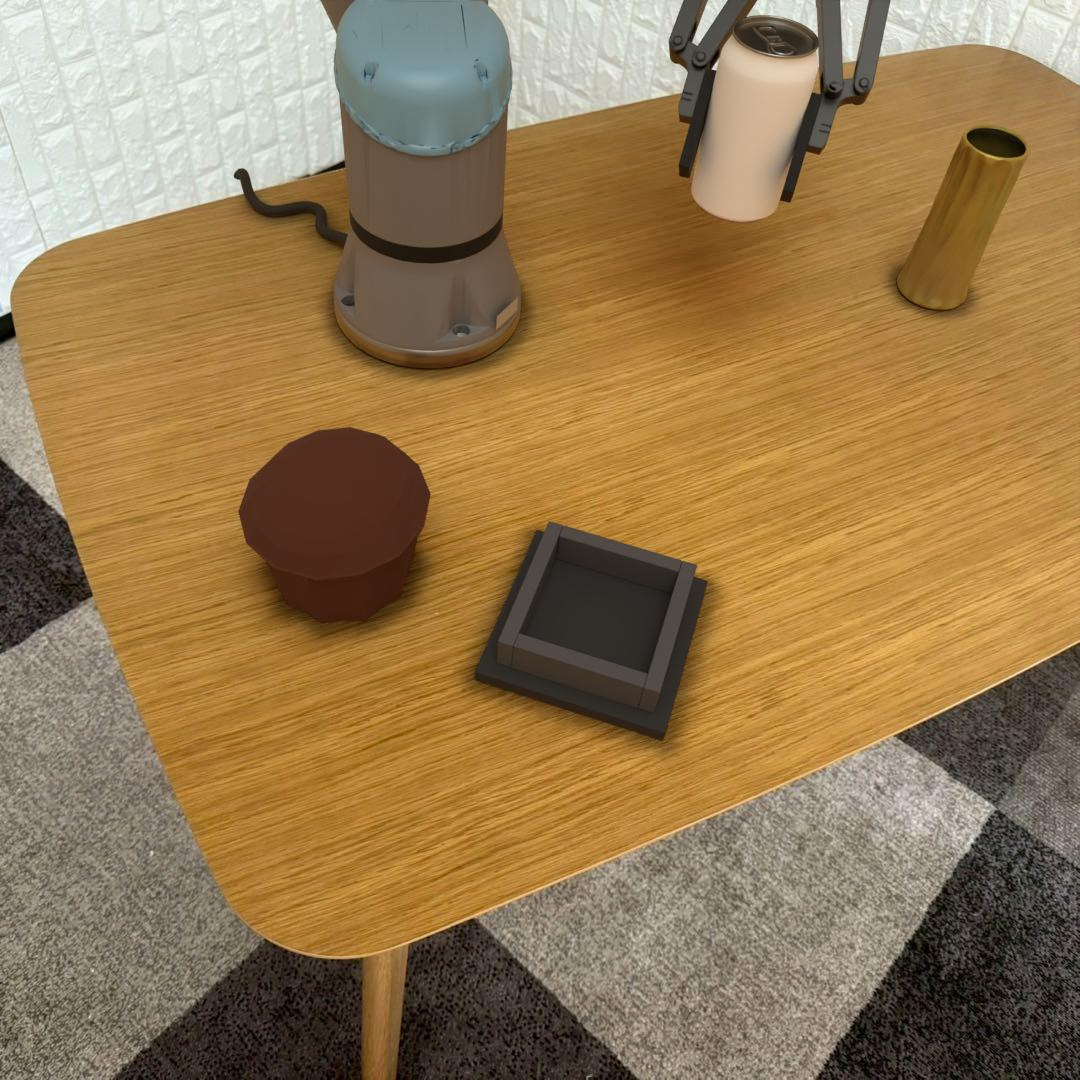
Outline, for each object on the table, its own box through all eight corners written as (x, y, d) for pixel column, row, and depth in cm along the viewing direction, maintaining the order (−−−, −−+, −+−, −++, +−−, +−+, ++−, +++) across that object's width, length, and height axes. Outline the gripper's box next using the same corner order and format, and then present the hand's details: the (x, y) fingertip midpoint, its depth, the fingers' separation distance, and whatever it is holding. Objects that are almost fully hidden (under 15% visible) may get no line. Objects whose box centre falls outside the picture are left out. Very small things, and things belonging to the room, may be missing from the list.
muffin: (360, 671, 62) (348, 574, 54) (218, 593, 65) (187, 490, 57) (463, 543, 69) (465, 440, 61) (330, 477, 72) (316, 371, 64)
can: (709, 230, 72) (750, 62, 63) (676, 179, 76) (710, 14, 66) (791, 221, 73) (843, 56, 64) (755, 172, 77) (799, 9, 68)
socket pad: (474, 680, 62) (475, 649, 60) (535, 538, 70) (539, 505, 67) (662, 741, 61) (673, 712, 58) (705, 589, 68) (716, 557, 65)
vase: (883, 273, 92) (943, 124, 81) (941, 264, 93) (1007, 117, 82) (918, 315, 88) (985, 166, 77) (977, 306, 90) (1052, 158, 79)
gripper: (969, -104, 69) (866, 230, 72) (692, -159, 72) (603, 166, 75) (1001, -171, 62) (886, 204, 65) (692, -230, 65) (593, 134, 67)
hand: (735, 183), depth 70 cm, fingers closed on can, 6 cm apart
